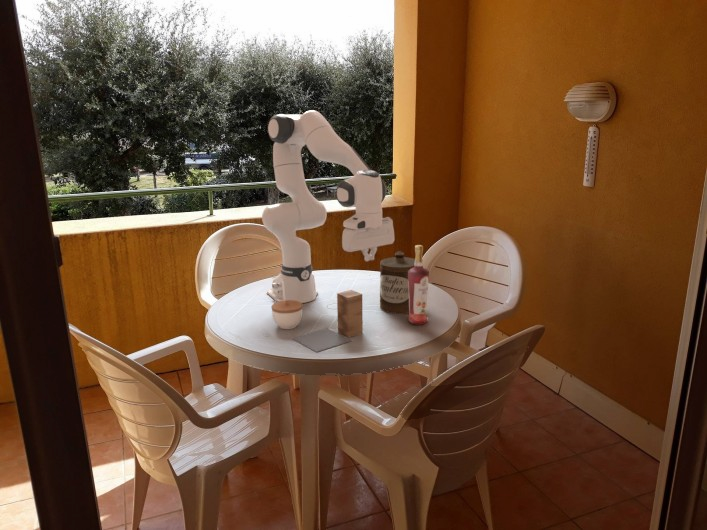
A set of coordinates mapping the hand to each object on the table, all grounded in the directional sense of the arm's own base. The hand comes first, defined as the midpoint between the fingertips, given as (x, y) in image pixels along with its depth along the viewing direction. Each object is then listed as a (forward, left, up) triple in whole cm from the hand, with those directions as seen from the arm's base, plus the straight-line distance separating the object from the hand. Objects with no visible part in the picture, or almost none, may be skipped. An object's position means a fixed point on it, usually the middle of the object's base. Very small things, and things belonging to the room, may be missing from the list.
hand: (369, 260), depth 188 cm
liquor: (+8, +16, -24) cm, 30 cm away
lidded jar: (-19, -21, -24) cm, 38 cm away
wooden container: (-8, +22, -24) cm, 33 cm away
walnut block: (0, -8, -24) cm, 25 cm away
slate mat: (-1, -19, -24) cm, 31 cm away
